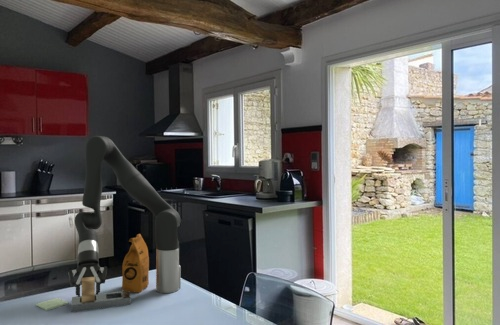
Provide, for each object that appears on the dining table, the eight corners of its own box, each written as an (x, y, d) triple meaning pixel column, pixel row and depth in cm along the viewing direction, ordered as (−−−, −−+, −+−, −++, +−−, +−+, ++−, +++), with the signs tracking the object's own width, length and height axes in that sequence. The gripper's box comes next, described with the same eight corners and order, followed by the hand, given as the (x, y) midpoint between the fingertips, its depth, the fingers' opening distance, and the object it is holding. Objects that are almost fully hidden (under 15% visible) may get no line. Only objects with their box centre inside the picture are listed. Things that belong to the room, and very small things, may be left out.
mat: (57, 299, 148) (57, 297, 148) (68, 304, 143) (68, 302, 143) (35, 305, 141) (35, 303, 141) (46, 310, 137) (46, 308, 137)
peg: (94, 303, 144) (94, 276, 144) (94, 307, 140) (94, 279, 140) (81, 304, 143) (81, 277, 143) (81, 308, 139) (81, 281, 139)
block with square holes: (127, 296, 151) (127, 290, 151) (130, 304, 143) (130, 297, 143) (72, 303, 144) (72, 296, 144) (71, 312, 135) (71, 305, 135)
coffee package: (117, 292, 156) (118, 238, 156) (130, 283, 168) (130, 233, 168) (141, 293, 155) (141, 239, 155) (152, 284, 167) (152, 233, 167)
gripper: (67, 250, 146) (66, 292, 135) (108, 247, 151) (109, 287, 140) (68, 261, 151) (66, 302, 139) (107, 258, 156) (108, 297, 145)
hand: (88, 294), depth 140 cm, fingers open, 5 cm apart
